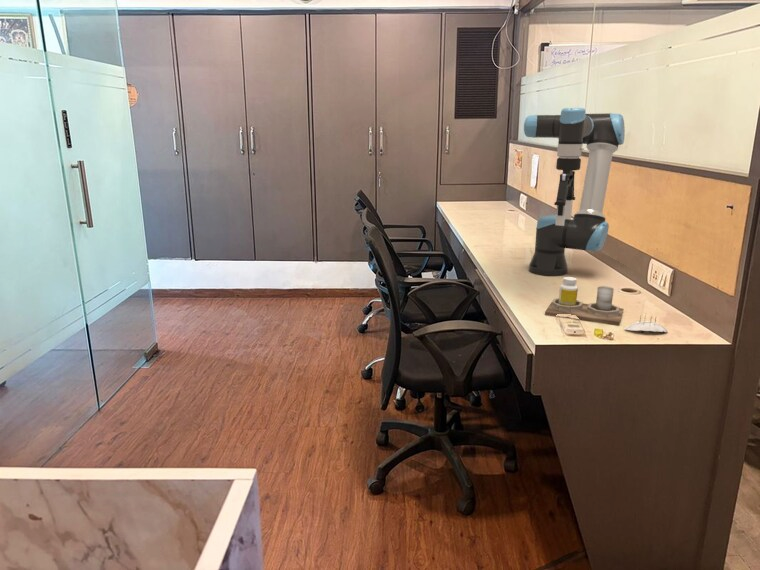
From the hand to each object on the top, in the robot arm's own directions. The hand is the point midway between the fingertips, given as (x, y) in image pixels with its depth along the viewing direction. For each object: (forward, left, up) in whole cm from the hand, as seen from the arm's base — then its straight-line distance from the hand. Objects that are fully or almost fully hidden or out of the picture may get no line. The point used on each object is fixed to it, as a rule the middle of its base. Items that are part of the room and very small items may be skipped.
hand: (563, 222), depth 188 cm
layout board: (+13, +11, -27) cm, 32 cm away
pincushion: (+22, +29, -27) cm, 45 cm away
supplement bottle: (+13, +6, -26) cm, 29 cm away
